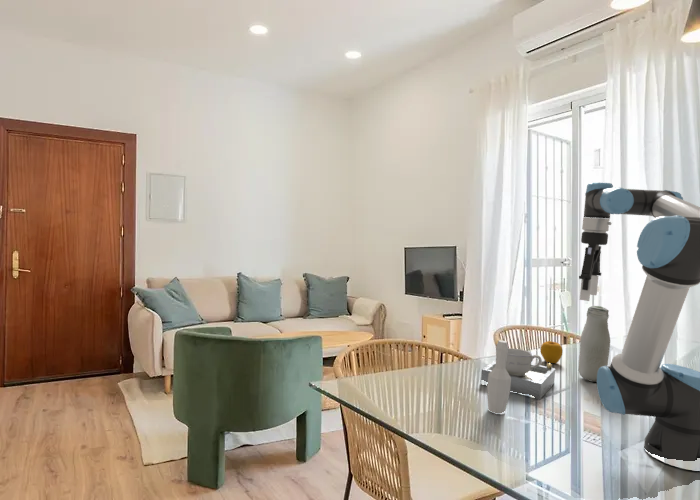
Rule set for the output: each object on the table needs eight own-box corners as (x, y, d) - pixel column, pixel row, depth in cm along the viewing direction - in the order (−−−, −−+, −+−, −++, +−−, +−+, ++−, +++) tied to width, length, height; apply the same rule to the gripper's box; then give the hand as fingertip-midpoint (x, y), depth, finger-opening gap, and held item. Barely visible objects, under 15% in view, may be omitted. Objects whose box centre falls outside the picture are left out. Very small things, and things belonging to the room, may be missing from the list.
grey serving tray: (539, 400, 160) (541, 379, 160) (480, 384, 172) (482, 364, 171) (554, 383, 177) (555, 364, 176) (499, 370, 188) (500, 352, 187)
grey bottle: (602, 377, 186) (610, 305, 183) (608, 387, 176) (617, 310, 173) (574, 373, 189) (581, 302, 186) (578, 382, 179) (586, 307, 176)
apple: (534, 359, 204) (536, 339, 203) (551, 358, 206) (553, 338, 205) (548, 366, 196) (550, 345, 195) (566, 365, 198) (568, 344, 197)
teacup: (495, 374, 172) (497, 352, 171) (501, 365, 182) (503, 344, 181) (537, 383, 166) (539, 360, 165) (541, 373, 175) (543, 352, 174)
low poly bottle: (498, 406, 153) (504, 337, 151) (511, 415, 147) (518, 343, 145) (481, 408, 151) (487, 339, 149) (494, 417, 145) (500, 345, 143)
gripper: (602, 233, 143) (594, 304, 145) (613, 231, 164) (606, 294, 166) (574, 231, 148) (567, 300, 150) (589, 230, 168) (582, 291, 170)
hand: (588, 297), depth 158 cm, fingers open, 13 cm apart
